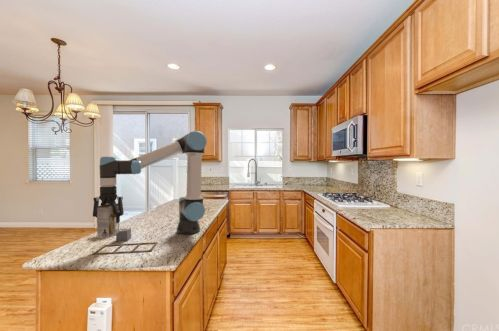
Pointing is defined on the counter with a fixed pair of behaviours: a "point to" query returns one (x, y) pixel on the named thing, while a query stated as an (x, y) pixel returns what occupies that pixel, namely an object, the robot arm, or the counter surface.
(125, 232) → the die
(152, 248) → the brown flat frame
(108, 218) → the coffee box
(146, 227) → the counter surface
